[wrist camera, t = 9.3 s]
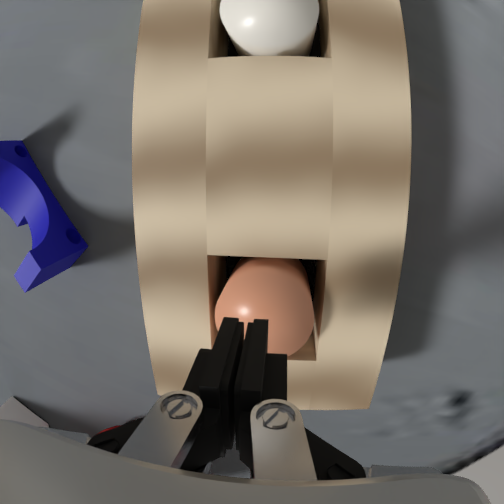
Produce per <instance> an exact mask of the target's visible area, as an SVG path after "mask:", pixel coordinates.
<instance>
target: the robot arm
mask: <svg viewBox="0 0 504 504" xmlns="http://www.w3.org/2000/svg"><path fill="white" fill-rule="evenodd" d="M268 324H269V319H254V321H253V322H248V325H247V330H246V334H245V339H244V322H239V318H233V317H224V318H223V320H222V323H221V326H220V328H219V331H218V334H217V337H216V339H215V342H214V345H213V348H212V349H203V348H201V349H200V350H199V351H198V354H197V356H196V358H195V361H194V363H193V366H192V368H191V370H190V373H189V375H188V378H187V380H186V382H185V385H184V387H183V390H179V391H172V392H168V393H166V394H164V395H162V396H161V397H160V398H159V399H158V400H157V401H156V403H155V404H154V405H153V407H152V408H151V409H150V411H149V412H148V414H147V415H146V416H145V417H144V418H141V419H138V420H136V421H133V422H130V423H127V424H124V425H122V426H119V427H116V428H113V429H110V430H107V431H104V432H101V433H99V434H97V435H94V436H93V437H90V436H89V434H86V433H78V432H71V431H65V430H59V429H53V428H47V427H37V426H33V425H30V424H27V423H23V422H18V421H13V420H4V419H0V504H491V503H490V501H489V499H488V497H487V495H486V494H485V493H484V491H483V490H482V489H481V488H480V487H479V485H477V484H476V483H475V482H473V481H471V480H469V479H467V478H463V477H459V476H454V475H446V474H442V473H441V472H440V471H439V470H437V469H435V468H432V467H405V466H384V465H372V466H371V468H369V467H362V465H360V464H359V463H358V462H357V461H355V460H354V459H352V458H350V457H349V456H347V455H346V454H344V453H342V452H341V451H339V450H338V449H336V448H335V447H333V446H332V445H330V444H329V443H327V442H326V441H324V440H322V439H321V438H319V437H318V436H317V435H315V434H314V433H312V432H311V431H309V430H308V429H306V428H305V427H304V424H303V420H302V416H301V413H300V411H299V409H298V408H297V407H296V406H295V405H294V404H292V403H290V402H289V401H287V354H276V353H267V350H268ZM235 435H236V450H239V452H240V460H241V461H242V462H243V463H245V464H246V465H247V466H248V467H249V468H250V479H248V478H237V477H227V476H219V475H212V474H208V472H209V470H210V468H211V461H213V460H215V459H217V458H219V457H225V452H226V449H230V450H231V449H232V446H233V441H234V436H235Z"/></svg>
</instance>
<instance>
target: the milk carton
mask: <svg viewBox="0 0 504 504" xmlns="http://www.w3.org/2000/svg"><path fill="white" fill-rule="evenodd" d="M0 419H4V420H13V421H18V422H23V423H27V424H30V425H33V426H37V427H47V428H49V425H48V424H47V423H46V422H45V421H43V420H42V419H41V418H39V417H38V416H37V415H35V414H34V413H33V412H31V411H30V410H29V409H28V408H26V407H25V406H24V405H22V404H21V403H20V402H19V401H18V400H16V399H15V398H14V397H13V396H11V397H10V398H9V399H8V400H7V401H6V402H5V403H4V404H3V405H2V406H1V407H0Z"/></svg>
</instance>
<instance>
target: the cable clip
mask: <svg viewBox="0 0 504 504" xmlns="http://www.w3.org/2000/svg"><path fill="white" fill-rule="evenodd" d="M0 207H1V208H2V209H3V210H4V211H5V212H6V213H7V214H8V215H9V216H10V217H11V218H12V219H13V221H14V222H15V224H16V225H17V227H18V226H21V225H25V224H27V223H28V224H29V227H30V230H31V235H32V250H31V251H29V252H28V254H27V255H26V257H25V259H24V260H23V262H22V263H21V265H20V267H19V268H18V270H17V272H16V273H15V275H14V277H15V278H16V280H17V281H18V283H19V285H20V286H21V288H22V289H23V291H24V292H25V293H26V292H27V291H29V290H31V289H32V288H34V287H36V286H38V285H39V284H41V283H43V282H45V281H47V280H48V279H50V278H52V277H54V276H55V275H57V274H59V273H61V272H63V271H65V270H66V269H68V268H70V267H71V266H72V265H73V264H74V262H75V261H76V260H77V259H78V258H79V257H80V255H81V254H82V253H83V252H84V251H85V250H86V249H87V248H88V245H87V244H86V242H85V241H84V239H83V238H82V237H81V235H80V234H79V232H78V231H77V229H76V228H75V227H74V225H73V224H72V222H71V221H70V219H69V218H68V216H67V215H66V213H65V212H64V210H63V209H62V207H61V206H60V204H59V203H58V201H57V199H56V198H55V196H54V195H53V193H52V191H51V190H50V188H49V187H48V185H47V183H46V182H45V180H44V178H43V177H42V175H41V173H40V172H39V170H38V168H37V167H36V165H35V163H34V161H33V160H32V158H31V156H30V154H29V153H28V151H27V149H26V147H25V145H24V143H23V142H22V141H0Z"/></svg>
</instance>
